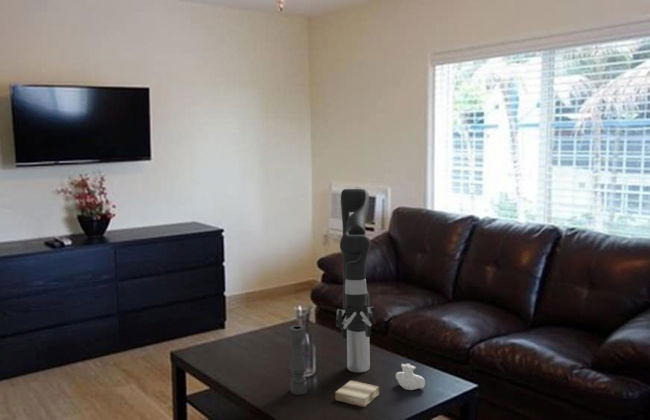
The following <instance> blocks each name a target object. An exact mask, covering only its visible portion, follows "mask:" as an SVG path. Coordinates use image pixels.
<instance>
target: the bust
mask: <svg viewBox="0 0 650 420" xmlns="http://www.w3.org/2000/svg"><path fill="white" fill-rule="evenodd" d="M400 367H401V368H402V369H401V370H402V371H398V372H396V373H395V379H396V381H397V382H398V385H399V386H401V387H402V389H404V390H407V391H414V390H417V389H423V388H424V387H425V385H426V380H425V378H424V377H423V376H422V375H418V374H415V373H414V370H415V369H417V367H416V366H414V365H413V364H412V365H411V363H401V366H400Z"/></svg>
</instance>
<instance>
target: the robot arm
mask: <svg viewBox="0 0 650 420" xmlns="http://www.w3.org/2000/svg"><path fill="white" fill-rule="evenodd" d="M369 207H370V195H369V192H368V190H367V189H363V188H345V189H343V190H342V191H341V194H340V208H341V221H342V236H341V238H340V241H339V249H340V252H341V253H342V268H343V270H342V273H343V286H342V308H343V309H339V308H337V309H336V312H335V313H336V315H335V316H336V317H335V326H336V327H337V328H338V329H339V328H340V331H341V338H342V339H343V340H346V353H347V354H346V356H347V357H346V358H347V359H346V360H347V361H346V365H347V370H348V371H349V372H352V373H364V372H367V371H369V370H370V367H371V357H370V356H371V355H370V354H371V352H370V351H371V348H370V347H371V346H370V345H371V344H370V336H371V335H372V326H373V325H375V324H377V315H376V313H377V312H376V308H375V307H374V306H371V305H370V301H371V300H370V293H369V291H368V288H367V280H366V278H367V276H366V274H367V271H366V270H367V268H366V267H367V260H368V255H369V252H370V249H371V238H370V237H369V236H368V235H366V221H367V217H368V213H369ZM350 213H352V214H350ZM344 314H345V317H344ZM343 317H344V318H343Z"/></svg>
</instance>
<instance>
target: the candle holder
mask: <svg viewBox="0 0 650 420" xmlns="http://www.w3.org/2000/svg"><path fill="white" fill-rule="evenodd" d="M305 329H306V327H305V326H304V325H298V324H296V325H291V326H289V338H290V339H291V341H292V342H291V343H290V346H291V348H292V357H291V361H290V370H289V371H290V372H291V373H292V377H291V378H290V380H291V381H290V393H291V394H293V395H301V396H302V395H304V394H306V393H307V391H308V382H307V377H305V373H306V371H307V365H306V360H305V356H304V346H305V342H304V339H305V337H306V333H305V332H306V330H305Z"/></svg>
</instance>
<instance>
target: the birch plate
mask: <svg viewBox="0 0 650 420" xmlns="http://www.w3.org/2000/svg"><path fill="white" fill-rule="evenodd" d="M334 393H335V395H334V396H335V397H334V398H335V401H337V402H338V401H339V402H342V403H347V404H349V405H350V404H351V405H354V406H359V407H363V408H365V407H367V406H368V404H370V403H372V401H373V400H375V399H376V398H377V396H379V395H380V386H378V385H374V384H369V383H365V382H360V381H356V380H349V381H348V382H346V383H345V384H344V385H342V386H341V387H340V388H338V389H337V390H336V391H335V392H334Z"/></svg>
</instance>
